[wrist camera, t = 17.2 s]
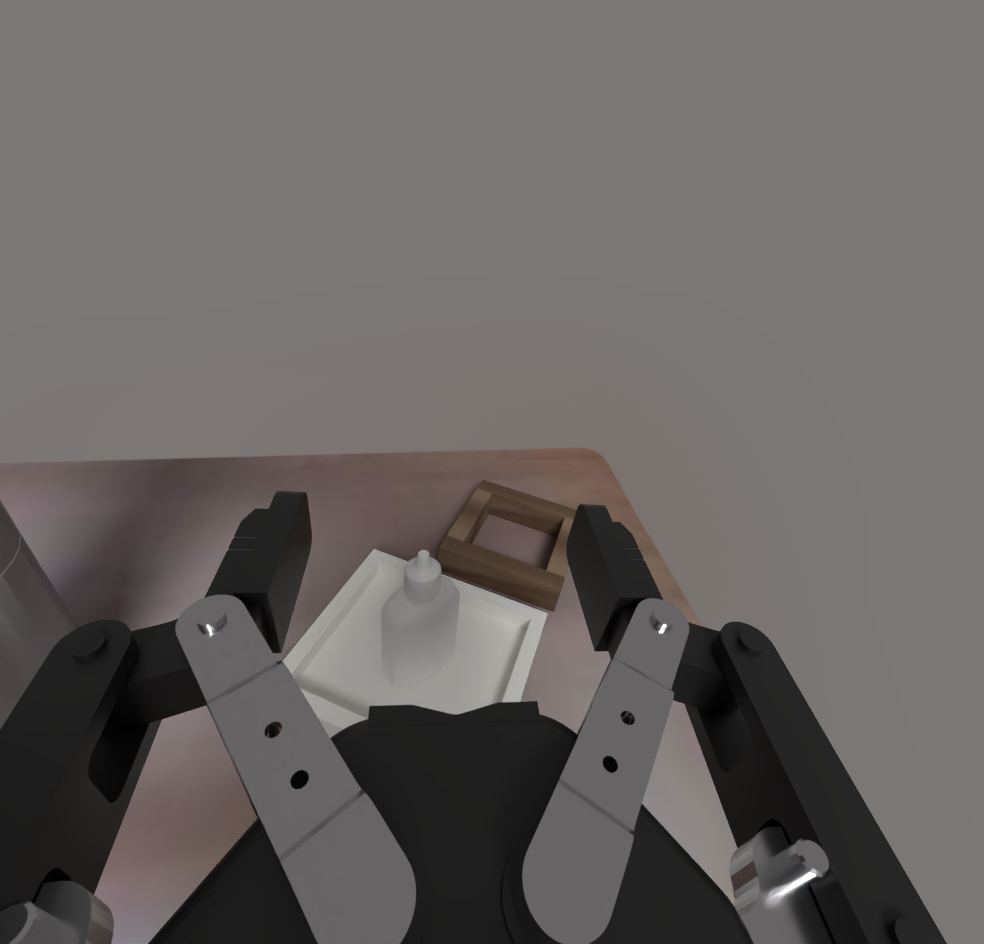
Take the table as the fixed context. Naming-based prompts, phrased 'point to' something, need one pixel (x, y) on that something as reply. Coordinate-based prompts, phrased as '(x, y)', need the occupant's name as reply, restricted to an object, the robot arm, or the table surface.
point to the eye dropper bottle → (419, 623)
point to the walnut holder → (500, 569)
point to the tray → (358, 651)
